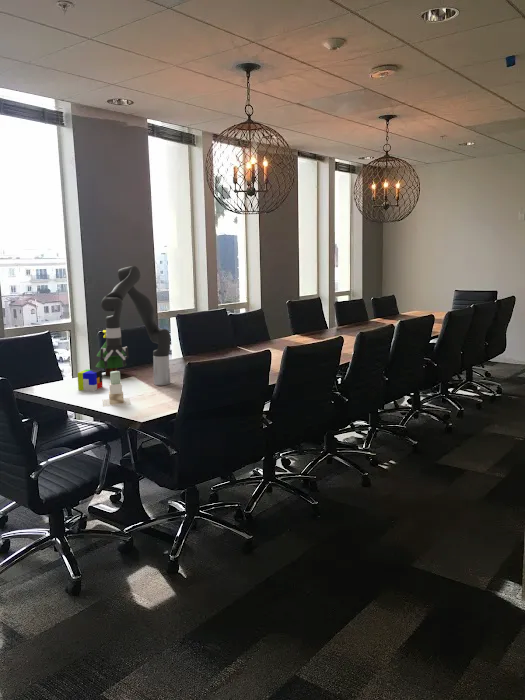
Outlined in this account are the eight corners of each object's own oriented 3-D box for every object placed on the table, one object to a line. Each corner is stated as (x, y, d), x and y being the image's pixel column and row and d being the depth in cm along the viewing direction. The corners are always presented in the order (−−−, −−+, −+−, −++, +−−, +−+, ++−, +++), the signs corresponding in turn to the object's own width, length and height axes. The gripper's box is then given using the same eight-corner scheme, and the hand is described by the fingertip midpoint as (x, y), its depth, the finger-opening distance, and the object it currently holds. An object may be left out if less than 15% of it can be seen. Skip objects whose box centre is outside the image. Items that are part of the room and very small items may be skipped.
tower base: (122, 399, 315) (122, 390, 314) (123, 403, 308) (123, 393, 307) (109, 400, 313) (108, 391, 312) (109, 404, 306) (109, 394, 305)
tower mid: (121, 391, 313) (121, 381, 312) (122, 393, 307) (121, 384, 307) (109, 391, 311) (109, 382, 311) (110, 394, 306) (109, 385, 305)
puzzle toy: (94, 390, 337) (93, 373, 335) (78, 390, 339) (77, 372, 337) (102, 386, 347) (101, 370, 345) (86, 386, 349) (86, 369, 347)
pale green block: (120, 382, 312) (119, 370, 311) (120, 384, 307) (120, 372, 306) (110, 382, 310) (110, 371, 309) (110, 384, 306) (110, 373, 305)
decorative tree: (95, 378, 368) (93, 330, 363) (96, 372, 387) (94, 326, 382) (127, 377, 372) (125, 329, 367) (126, 371, 391) (125, 326, 386)
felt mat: (129, 398, 319) (129, 397, 319) (131, 405, 306) (131, 404, 306) (102, 400, 315) (102, 399, 315) (102, 407, 302) (102, 406, 302)
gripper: (127, 334, 310) (128, 365, 313) (99, 336, 306) (100, 366, 309) (128, 336, 303) (129, 367, 305) (99, 338, 299) (101, 369, 302)
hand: (115, 367), depth 307 cm, fingers open, 8 cm apart
